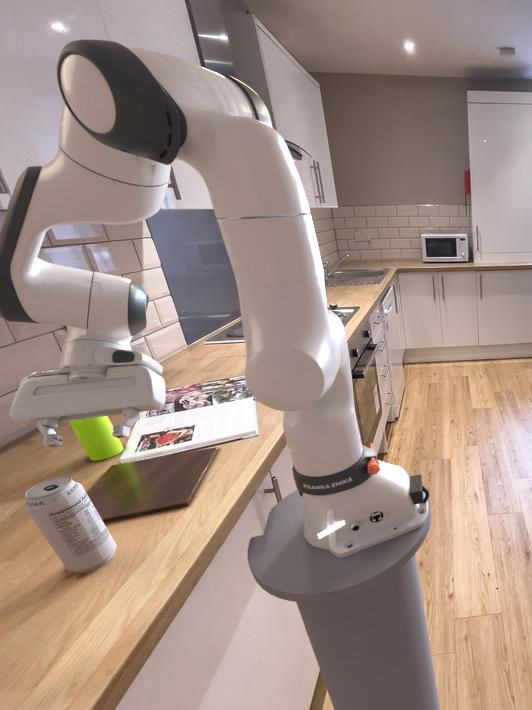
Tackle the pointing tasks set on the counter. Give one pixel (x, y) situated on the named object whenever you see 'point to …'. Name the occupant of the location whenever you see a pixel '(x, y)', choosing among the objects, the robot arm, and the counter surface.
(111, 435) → the soap dispenser
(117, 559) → the counter surface
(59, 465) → the counter surface
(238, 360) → the counter surface
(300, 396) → the robot arm
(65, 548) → the energy drink can
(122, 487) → the coaster board
